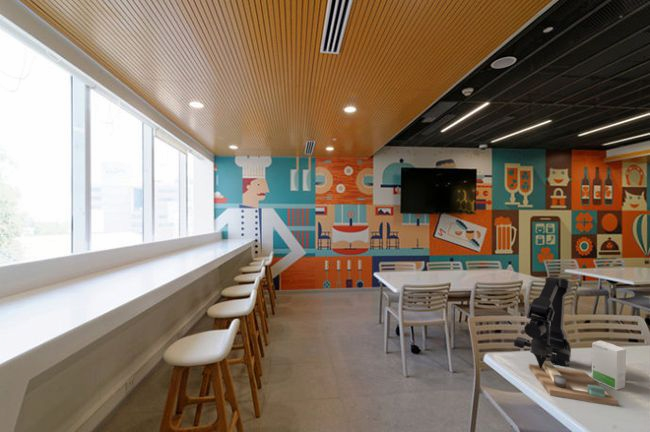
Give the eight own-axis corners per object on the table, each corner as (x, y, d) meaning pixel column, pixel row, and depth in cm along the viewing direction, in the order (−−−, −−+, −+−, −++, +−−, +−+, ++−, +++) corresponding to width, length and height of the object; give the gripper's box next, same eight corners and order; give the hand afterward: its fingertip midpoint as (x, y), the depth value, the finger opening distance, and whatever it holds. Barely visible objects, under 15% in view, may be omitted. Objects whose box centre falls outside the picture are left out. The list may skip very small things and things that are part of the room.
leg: (567, 388, 105) (567, 380, 105) (556, 386, 106) (556, 378, 106) (548, 365, 122) (548, 358, 122) (539, 364, 123) (539, 357, 123)
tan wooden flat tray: (528, 368, 124) (528, 357, 124) (583, 375, 118) (583, 364, 118) (550, 395, 105) (549, 382, 105) (616, 406, 99) (616, 392, 99)
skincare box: (590, 379, 115) (590, 342, 115) (600, 376, 117) (599, 339, 118) (617, 391, 107) (617, 350, 107) (627, 387, 109) (626, 348, 110)
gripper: (511, 330, 119) (510, 366, 119) (568, 345, 106) (567, 386, 106) (517, 323, 127) (516, 357, 127) (571, 337, 113) (570, 374, 114)
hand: (540, 368), depth 118 cm, fingers closed
